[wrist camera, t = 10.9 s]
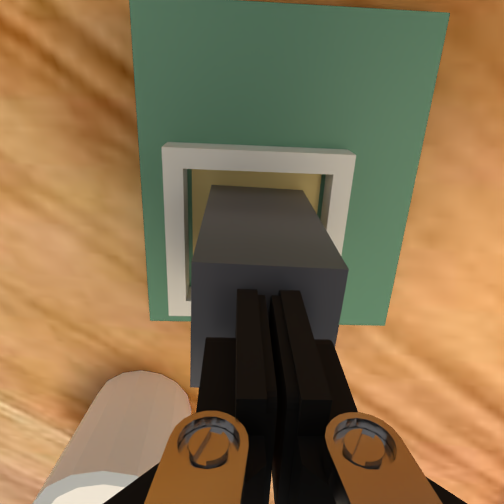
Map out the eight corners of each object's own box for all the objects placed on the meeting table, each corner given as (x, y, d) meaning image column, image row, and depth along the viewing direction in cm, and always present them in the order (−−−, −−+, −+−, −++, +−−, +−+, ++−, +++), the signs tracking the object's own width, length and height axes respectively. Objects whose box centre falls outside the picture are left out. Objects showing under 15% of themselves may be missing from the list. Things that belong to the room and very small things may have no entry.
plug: (211, 184, 17) (191, 261, 10) (302, 189, 18) (349, 269, 10) (208, 282, 19) (190, 408, 12) (291, 286, 19) (323, 412, 12)
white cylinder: (173, 347, 22) (147, 456, 16) (218, 432, 25) (211, 554, 18) (63, 381, 23) (-5, 498, 17) (117, 460, 26) (77, 588, 19)
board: (136, -1, 16) (118, -15, 13) (435, 17, 16) (469, 6, 14) (154, 307, 21) (144, 336, 19) (377, 313, 22) (394, 341, 19)
